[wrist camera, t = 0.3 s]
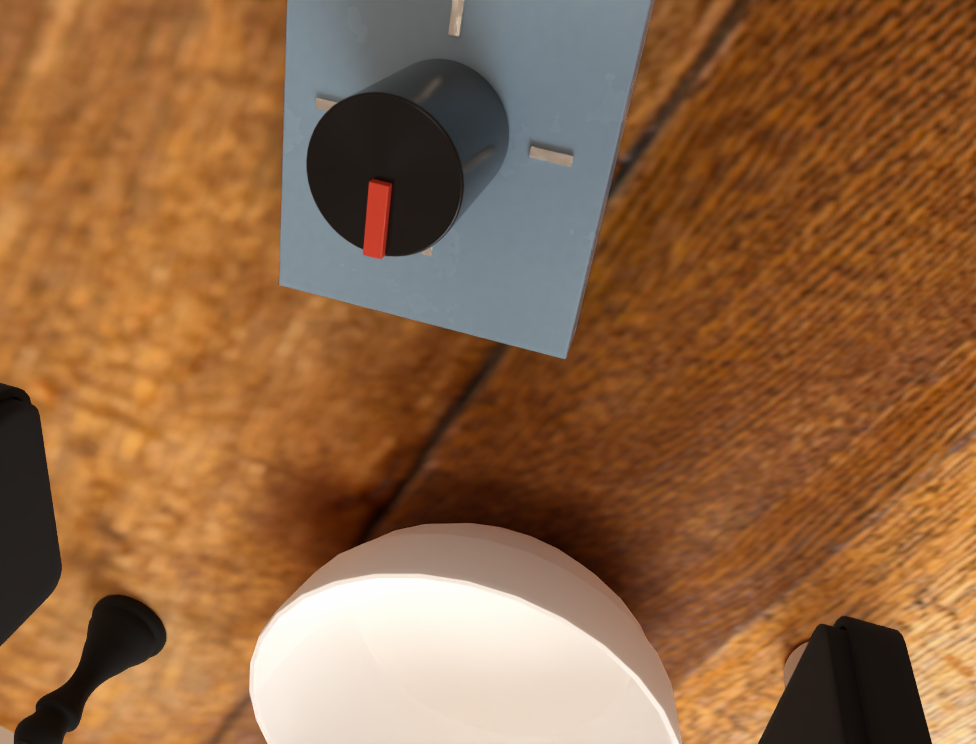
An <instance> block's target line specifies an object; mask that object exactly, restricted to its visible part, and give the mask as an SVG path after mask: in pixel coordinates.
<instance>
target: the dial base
mask: <svg viewBox="0 0 976 744" xmlns="http://www.w3.org/2000/svg"><path fill="white" fill-rule="evenodd" d="M654 3H655V0H287V21H286V56H285V91H284V126H283V161H282V196H281V231H280V267H279V285H281V286H285V287H289V288H293V289H297V290H301V291H304V292H308V293H312V294H316V295H320V296H324V297H327V298H331V299H335V300H339V301H343V302H347V303H351V304H354V305H358V306H362V307H366V308H370V309H374V310H377V311H381V312H385V313H389V314H393V315H397V316H400V317H404V318H408V319H412V320H416V321H420V322H424V323H427V324H431V325H435V326H439V327H443V328H447V329H450V330H454V331H458V332H462V333H466V334H470V335H474V336H477V337H481V338H485V339H489V340H493V341H497V342H500V343H504V344H508V345H512V346H516V347H520V348H524V349H527V350H531V351H535V352H539V353H543V354H547V355H550V356H554V357H558V358H562V359H566V357H567V354H568V351H569V349H570V346H571V343H572V340H573V337H574V334H575V332H576V328H577V324H578V320H579V316H580V312H581V308H582V303H583V299H584V295H585V291H586V287H587V283H588V278H589V274H590V270H591V266H592V262H593V258H594V253H595V249H596V245H597V241H598V237H599V233H600V228H601V224H602V220H603V216H604V212H605V208H606V203H607V199H608V195H609V191H610V187H611V183H612V178H613V174H614V170H615V166H616V162H617V158H618V153H619V149H620V145H621V141H622V137H623V132H624V128H625V124H626V120H627V116H628V112H629V107H630V103H631V99H632V95H633V91H634V87H635V82H636V78H637V74H638V70H639V66H640V62H641V57H642V53H643V49H644V45H645V41H646V37H647V32H648V28H649V24H650V20H651V16H652V12H653V7H654ZM428 59H447V60H452V61H456V62H459V63H462V64H464V65H466V66H468V67H470V68H472V69H473V70H475V71H476V72H478V73H479V74H480V75H481V76H483V77H484V78H485V79H486V80H487V81H488V82H489V83H490V84H491V86H492V87H493V88H494V90H495V91H496V92H497V94H498V96H499V98H500V99H501V101H502V104H503V106H504V109H505V112H506V115H507V119H508V125H509V144H508V150H507V154H506V157H505V160H504V162H503V165H502V166H501V168H500V170H499V172H498V173H497V175H496V176H495V177H494V179H493V180H492V181H491V182H490V183H489V184H488V186H487V187H486V188H485V189H484V190H483V192H482V193H481V194H480V195H479V196H478V197H477V199H476V200H475V201H474V202H473V203H472V205H471V206H470V207H469V208H468V209H467V211H466V212H465V213H464V214H463V215H462V216H461V218H460V219H459V220H458V221H457V222H456V224H455V225H454V226H453V227H452V228H451V229H450V231H449V232H448V233H447V234H446V235H445V236H444V237H443V238H442V239H441V240H440V241H439V242H437V243H436V244H435V245H433V246H432V247H430V248H428V249H426V250H425V251H422V252H419V253H417V254H413V255H408V256H399V257H393V256H384V257H383V258H382V259H377V258H373V257H369V256H365V255H363V249H360V248H358V247H356V246H355V245H353V244H351V243H350V242H348V241H347V240H345V239H344V238H343V237H341V236H340V235H339V234H338V233H337V232H336V231H335V230H334V229H333V228H332V227H331V226H330V225H329V224H328V222H327V221H326V220H325V218H324V217H323V215H322V214H321V213H320V211H319V209H318V207H317V205H316V203H315V201H314V199H313V196H312V194H311V191H310V187H309V183H308V178H307V170H306V159H307V149H308V145H309V141H310V138H311V135H312V133H313V130H314V128H315V127H316V125H317V123H318V121H319V120H320V119H321V118H322V116H323V115H324V114H325V113H326V112H327V111H328V110H329V109H330V108H331V107H332V106H334V105H335V104H336V103H338V102H339V101H341V100H343V99H345V98H347V97H349V96H351V95H353V94H355V93H357V92H359V91H361V90H363V89H364V88H366V87H368V86H370V85H372V84H374V83H376V82H378V81H380V80H382V79H384V78H386V77H388V76H390V75H392V74H394V73H396V72H398V71H400V70H402V69H404V68H406V67H408V66H410V65H412V64H414V63H416V62H419V61H423V60H428Z"/></svg>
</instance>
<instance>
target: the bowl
mask: <svg viewBox="0 0 976 744" xmlns="http://www.w3.org/2000/svg"><path fill="white" fill-rule="evenodd" d="M249 691H250V696H251V700H252V704H253V708H254V713H255V717H256V720H257V722H258V724H259V727H260V729H261V731H262V733H263V735H264V737H265V739H266V741H267V743H268V744H682V741H681V735H680V729H679V723H678V718H677V712H676V706H675V701H674V695H673V689H672V684H671V682H670V680H669V678H668V675H667V673H666V671H665V669H664V666H663V664H662V662H661V660H660V657H659V655H658V653H657V652H656V651H655V649H654V648H653V647H652V645H651V644H650V642H649V641H648V640H647V638H646V637H645V634H644V632H643V630H642V628H641V625H640V624H639V623H638V621H637V620H636V618H635V617H634V616H633V614H632V613H631V612H630V610H629V609H628V608H627V606H626V605H625V603H624V602H623V601H622V599H621V598H620V597H619V596H618V595H616V594H615V593H614V592H613V591H612V590H611V589H610V588H609V587H608V586H607V585H606V584H605V583H604V582H603V581H602V580H601V579H599V578H598V577H597V576H596V575H595V574H594V573H592V572H591V571H590V570H588V569H587V568H586V567H585V566H583V565H582V564H580V563H579V562H577V561H576V560H574V559H573V558H571V557H570V556H568V555H567V554H565V553H564V552H562V551H561V550H559V549H557V548H555V547H553V546H551V545H549V544H547V543H545V542H543V541H540V540H538V539H536V538H534V537H532V536H529V535H526V534H522V533H519V532H516V531H512V530H509V529H506V528H502V527H496V526H489V525H482V524H475V523H447V524H423V525H418V526H414V527H409V528H404V529H399V530H395V531H392V532H390V533H388V534H385V535H383V536H381V537H378V538H376V539H374V540H372V541H369V542H366V543H364V544H361V545H359V546H357V547H354V548H352V549H350V550H348V551H345V552H343V553H341V554H338V555H337V556H336V557H334V558H333V559H332V560H330V561H329V562H328V563H326V564H325V565H324V566H323V567H321V568H320V569H319V570H317V571H316V572H315V573H314V574H313V575H312V576H311V577H310V578H309V579H308V580H307V581H306V582H305V583H304V584H303V585H302V586H301V587H300V588H299V589H298V590H297V591H296V592H295V593H294V594H293V595H291V596H290V597H289V598H288V599H287V600H286V601H285V602H284V603H283V604H282V605H281V606H280V607H279V608H278V609H277V611H276V612H275V613H274V615H273V616H272V618H271V619H270V620H269V622H268V623H267V624H266V626H265V627H264V629H263V630H262V631H261V633H260V635H259V638H258V641H257V644H256V647H255V650H254V653H253V656H252V659H251V662H250V690H249Z"/></svg>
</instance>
